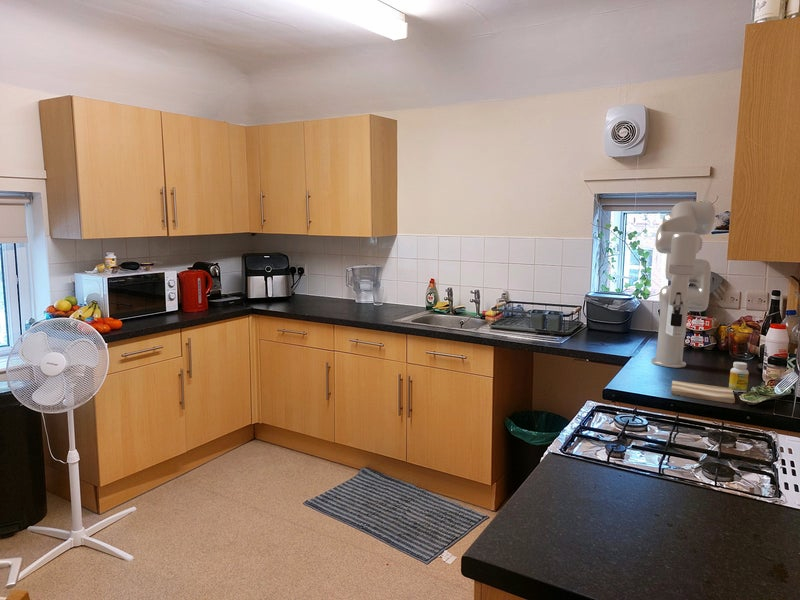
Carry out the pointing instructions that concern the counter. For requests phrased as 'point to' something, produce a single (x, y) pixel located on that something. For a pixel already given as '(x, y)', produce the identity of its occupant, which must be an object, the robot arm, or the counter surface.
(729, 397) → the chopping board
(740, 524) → the counter surface
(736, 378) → the supplement bottle
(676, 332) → the skincare box
